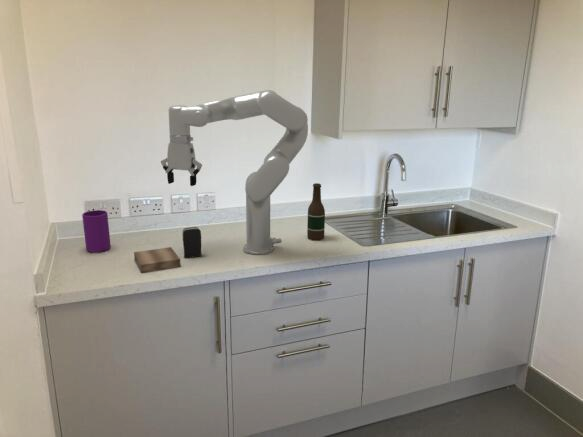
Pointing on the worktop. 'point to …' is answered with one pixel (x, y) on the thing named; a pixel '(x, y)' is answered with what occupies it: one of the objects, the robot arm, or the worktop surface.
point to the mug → (96, 231)
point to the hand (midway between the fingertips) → (182, 184)
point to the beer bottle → (316, 216)
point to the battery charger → (192, 242)
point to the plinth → (156, 259)
